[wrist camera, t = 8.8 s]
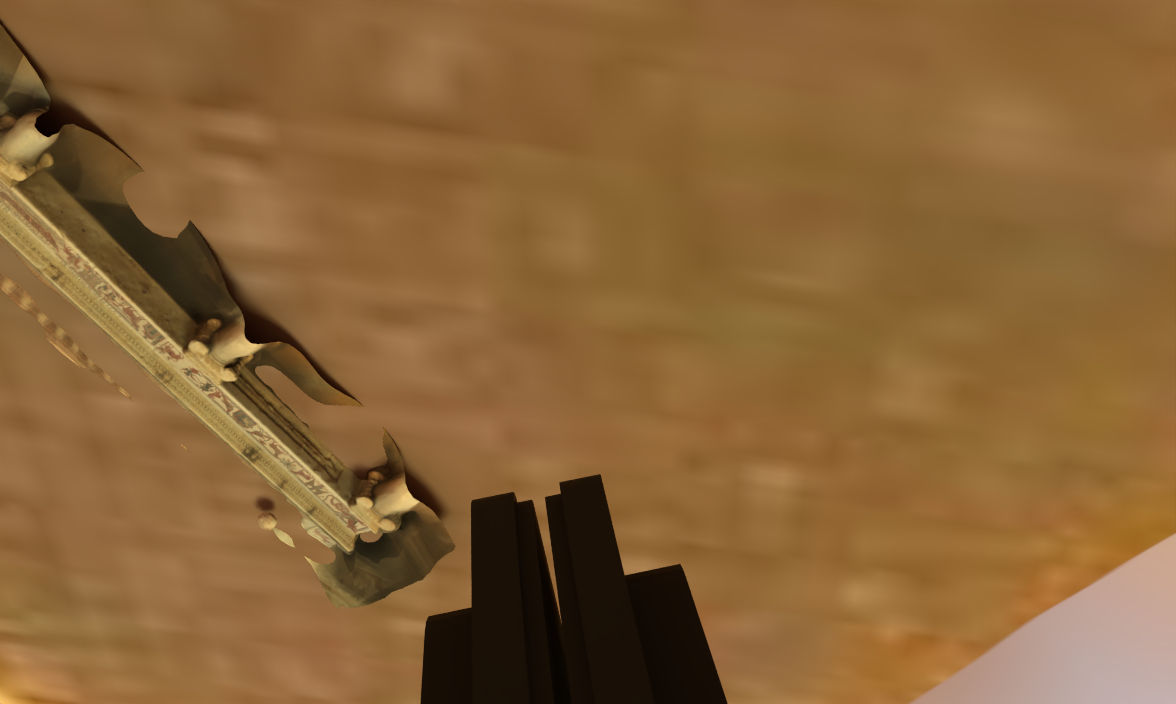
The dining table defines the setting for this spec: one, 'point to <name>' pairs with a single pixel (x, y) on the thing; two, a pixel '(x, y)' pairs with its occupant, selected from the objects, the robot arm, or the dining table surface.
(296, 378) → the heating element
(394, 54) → the dining table surface
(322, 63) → the dining table surface
